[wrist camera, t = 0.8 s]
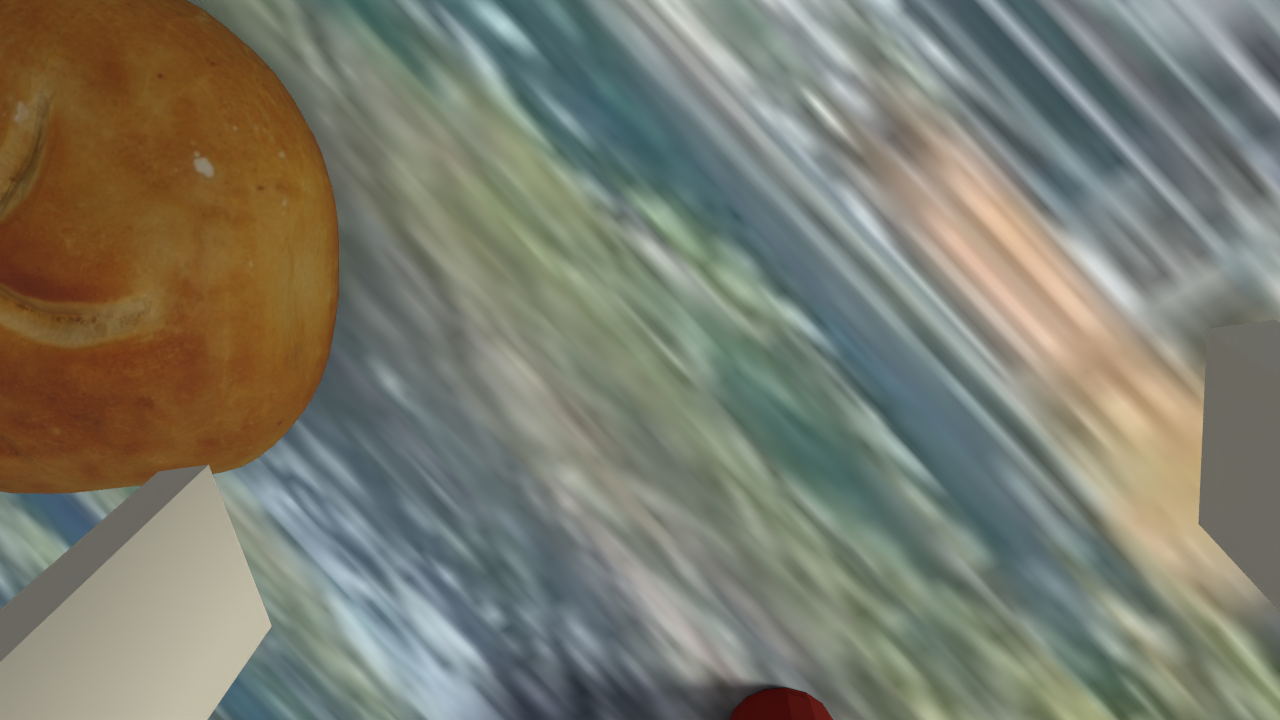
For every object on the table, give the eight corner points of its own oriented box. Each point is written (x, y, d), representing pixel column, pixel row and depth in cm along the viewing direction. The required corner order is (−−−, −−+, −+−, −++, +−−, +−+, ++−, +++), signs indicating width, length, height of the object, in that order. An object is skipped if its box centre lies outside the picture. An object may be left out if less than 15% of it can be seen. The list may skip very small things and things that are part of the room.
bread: (-230, 118, 41) (-502, 151, 32) (176, -156, 36) (-9, -211, 27) (89, 520, 48) (-60, 644, 39) (470, 337, 43) (404, 430, 34)
